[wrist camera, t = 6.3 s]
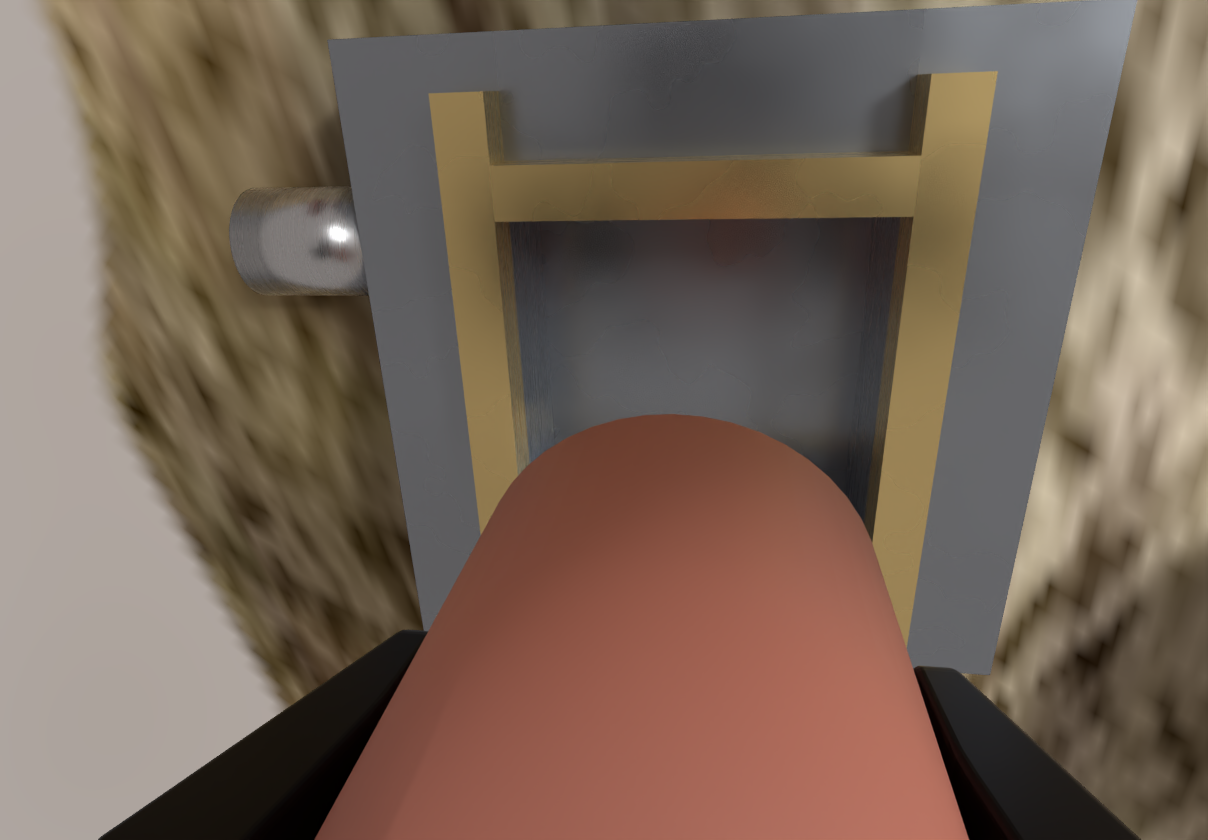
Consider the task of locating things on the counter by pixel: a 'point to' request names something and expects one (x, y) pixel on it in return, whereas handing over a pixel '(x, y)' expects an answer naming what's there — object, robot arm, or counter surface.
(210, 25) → the counter surface
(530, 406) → the grey and gold frame
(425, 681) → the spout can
